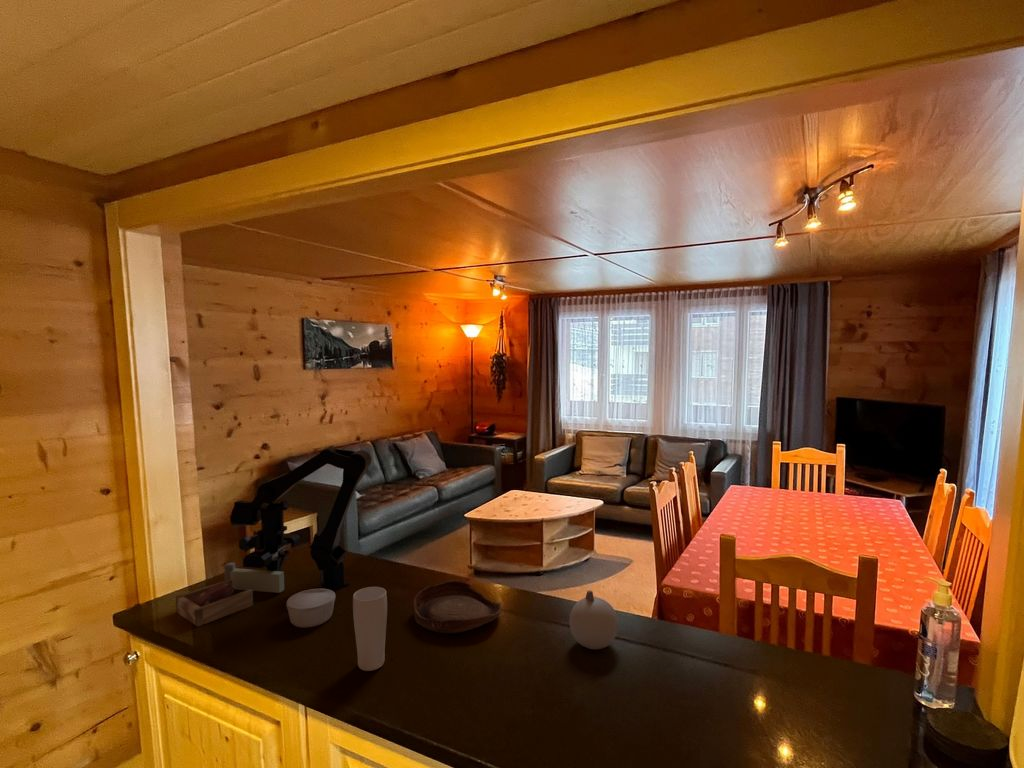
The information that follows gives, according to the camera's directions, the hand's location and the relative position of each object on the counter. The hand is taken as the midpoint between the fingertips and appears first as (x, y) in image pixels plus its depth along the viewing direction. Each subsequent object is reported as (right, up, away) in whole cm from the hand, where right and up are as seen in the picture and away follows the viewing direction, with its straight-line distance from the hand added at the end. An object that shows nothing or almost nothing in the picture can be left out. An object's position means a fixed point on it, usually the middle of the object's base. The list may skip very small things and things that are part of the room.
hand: (273, 579), depth 143 cm
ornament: (+85, -3, -32) cm, 91 cm away
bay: (-9, -3, -12) cm, 15 cm away
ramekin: (+18, -3, -18) cm, 25 cm away
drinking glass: (+38, -3, -38) cm, 54 cm away
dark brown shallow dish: (+54, -3, -18) cm, 57 cm away
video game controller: (-10, -3, -12) cm, 16 cm away
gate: (-5, -2, -2) cm, 5 cm away
